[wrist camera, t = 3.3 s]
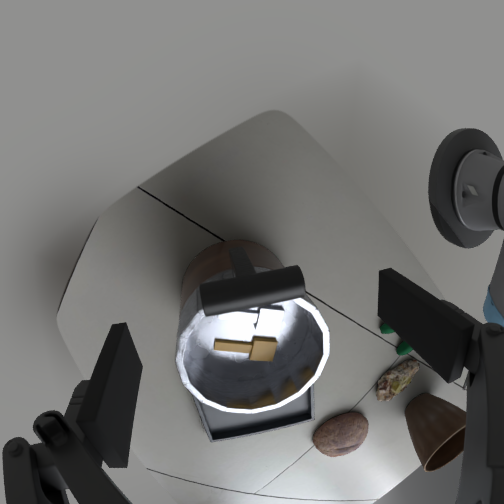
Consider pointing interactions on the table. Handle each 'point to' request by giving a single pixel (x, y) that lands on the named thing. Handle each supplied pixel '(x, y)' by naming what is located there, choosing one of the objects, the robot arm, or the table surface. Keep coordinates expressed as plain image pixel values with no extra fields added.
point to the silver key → (259, 318)
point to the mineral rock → (396, 380)
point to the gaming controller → (403, 347)
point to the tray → (255, 418)
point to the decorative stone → (341, 434)
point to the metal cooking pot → (250, 338)
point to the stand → (223, 263)
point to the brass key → (250, 348)
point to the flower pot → (435, 430)
